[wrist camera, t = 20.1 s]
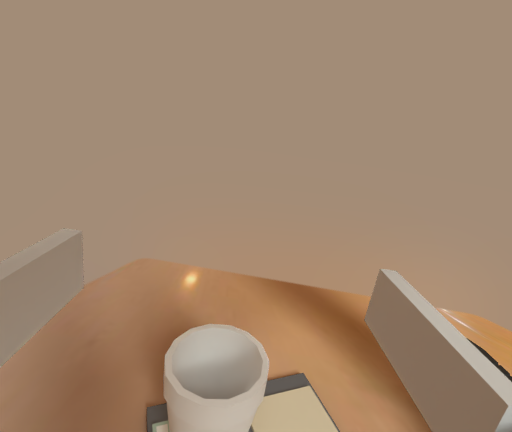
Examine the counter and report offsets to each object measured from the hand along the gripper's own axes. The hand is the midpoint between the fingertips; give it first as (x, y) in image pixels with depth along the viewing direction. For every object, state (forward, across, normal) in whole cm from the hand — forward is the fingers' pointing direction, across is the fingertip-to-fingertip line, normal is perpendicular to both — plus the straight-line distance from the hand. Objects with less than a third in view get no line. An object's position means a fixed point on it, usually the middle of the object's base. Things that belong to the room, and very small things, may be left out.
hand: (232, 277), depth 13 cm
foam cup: (+10, 0, -27) cm, 29 cm away
